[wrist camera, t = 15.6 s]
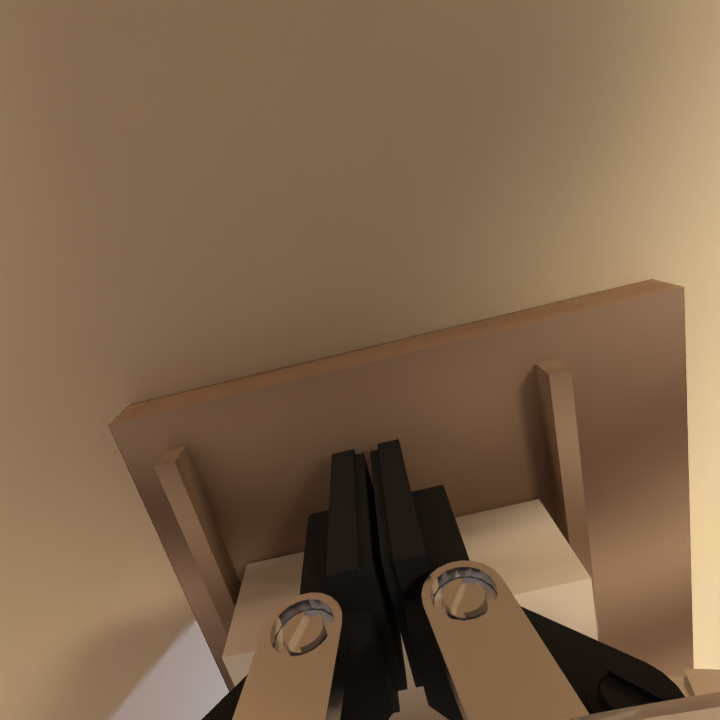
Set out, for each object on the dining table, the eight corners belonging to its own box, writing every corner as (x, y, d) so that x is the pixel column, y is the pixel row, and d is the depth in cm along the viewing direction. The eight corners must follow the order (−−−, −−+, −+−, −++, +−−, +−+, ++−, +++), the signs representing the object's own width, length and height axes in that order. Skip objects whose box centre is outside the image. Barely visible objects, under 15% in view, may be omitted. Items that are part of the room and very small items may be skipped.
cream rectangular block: (246, 564, 13) (222, 657, 10) (538, 499, 13) (591, 578, 10) (306, 717, 15) (298, 829, 12) (562, 663, 14) (611, 767, 12)
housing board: (129, 405, 13) (56, 473, 10) (652, 279, 12) (763, 307, 9) (322, 854, 19) (319, 987, 16) (675, 785, 18) (745, 909, 15)
